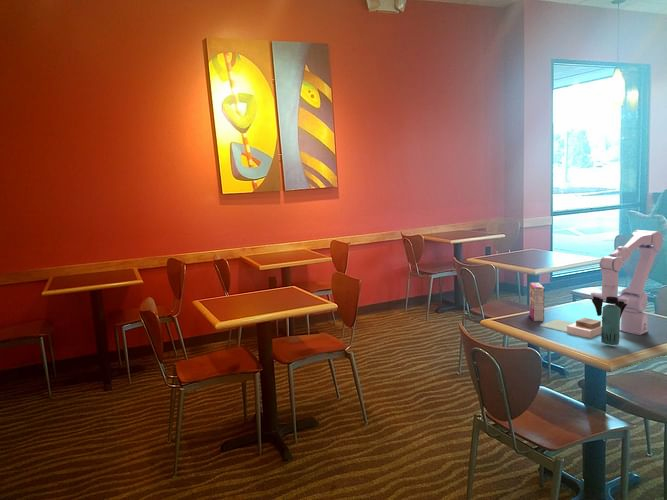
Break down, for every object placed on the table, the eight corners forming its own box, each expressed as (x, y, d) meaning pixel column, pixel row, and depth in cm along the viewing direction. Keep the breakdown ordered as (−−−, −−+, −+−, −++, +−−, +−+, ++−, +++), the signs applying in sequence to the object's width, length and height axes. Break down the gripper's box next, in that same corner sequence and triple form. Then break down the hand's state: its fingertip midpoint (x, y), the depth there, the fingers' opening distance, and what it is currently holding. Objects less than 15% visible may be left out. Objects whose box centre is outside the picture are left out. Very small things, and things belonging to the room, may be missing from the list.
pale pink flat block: (606, 331, 211) (607, 324, 210) (589, 338, 203) (590, 331, 203) (583, 326, 219) (584, 319, 219) (566, 332, 211) (567, 325, 211)
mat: (582, 325, 219) (582, 325, 219) (565, 332, 212) (565, 331, 212) (556, 320, 230) (556, 319, 230) (539, 326, 222) (539, 325, 222)
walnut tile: (600, 325, 209) (600, 321, 209) (592, 328, 205) (592, 324, 205) (584, 322, 215) (584, 317, 215) (575, 325, 211) (576, 320, 211)
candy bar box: (528, 315, 240) (529, 282, 238) (539, 315, 239) (540, 282, 237) (533, 321, 229) (533, 287, 227) (544, 321, 228) (545, 287, 226)
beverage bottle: (613, 343, 196) (615, 294, 193) (623, 348, 189) (625, 298, 187) (597, 344, 196) (598, 295, 193) (606, 349, 189) (608, 299, 186)
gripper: (587, 284, 204) (586, 315, 206) (623, 289, 193) (622, 322, 194) (596, 281, 208) (595, 312, 210) (632, 286, 196) (630, 319, 198)
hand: (608, 317), depth 203 cm, fingers open, 7 cm apart
